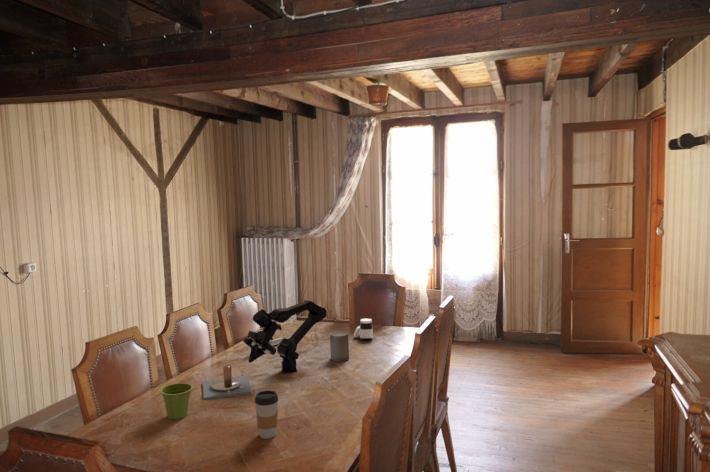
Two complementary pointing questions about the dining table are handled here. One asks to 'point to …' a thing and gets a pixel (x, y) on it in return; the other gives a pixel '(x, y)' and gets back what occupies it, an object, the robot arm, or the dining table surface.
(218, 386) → the dial
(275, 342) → the wrench
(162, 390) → the plant pot
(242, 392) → the dial board
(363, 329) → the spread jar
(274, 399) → the coffee cup
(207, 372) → the dining table surface
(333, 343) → the pillar candle
